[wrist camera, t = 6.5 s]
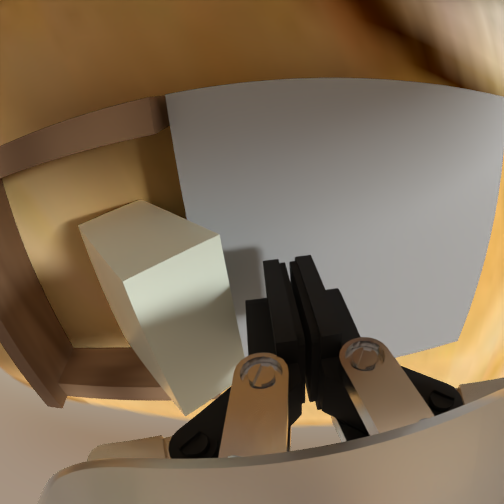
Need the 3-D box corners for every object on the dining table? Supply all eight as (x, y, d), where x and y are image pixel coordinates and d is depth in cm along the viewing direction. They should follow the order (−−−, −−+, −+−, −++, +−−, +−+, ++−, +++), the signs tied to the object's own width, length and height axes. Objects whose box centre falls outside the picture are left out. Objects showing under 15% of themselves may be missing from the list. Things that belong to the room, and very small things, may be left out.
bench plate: (479, 92, 11) (505, 97, 9) (443, 320, 18) (457, 340, 16) (176, 93, 11) (165, 94, 9) (226, 356, 18) (226, 383, 16)
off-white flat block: (219, 234, 9) (122, 281, 7) (248, 373, 12) (185, 416, 10) (140, 199, 13) (77, 225, 12) (173, 308, 16) (123, 336, 14)
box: (168, 95, 11) (139, 98, 8) (221, 357, 18) (219, 414, 14) (-20, 156, 11) (-71, 183, 8) (67, 360, 18) (47, 406, 14)
